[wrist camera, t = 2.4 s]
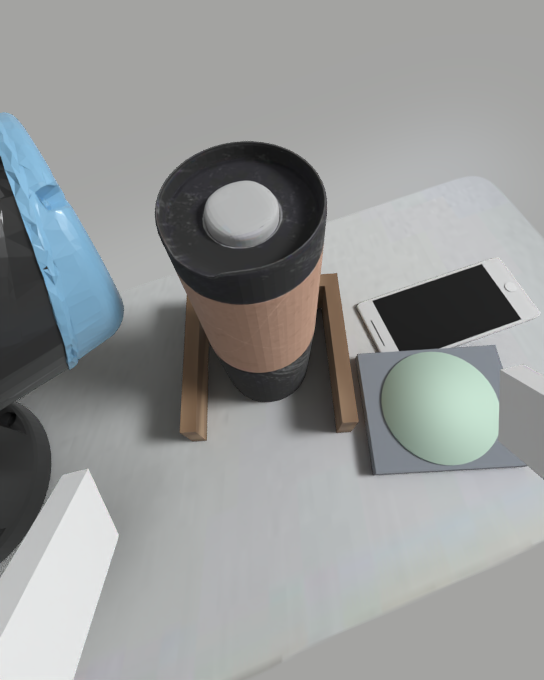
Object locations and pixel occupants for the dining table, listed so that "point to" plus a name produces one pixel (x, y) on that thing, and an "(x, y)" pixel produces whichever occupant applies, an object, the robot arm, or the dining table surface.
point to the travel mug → (249, 257)
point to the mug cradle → (337, 353)
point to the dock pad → (433, 410)
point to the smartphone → (448, 309)
